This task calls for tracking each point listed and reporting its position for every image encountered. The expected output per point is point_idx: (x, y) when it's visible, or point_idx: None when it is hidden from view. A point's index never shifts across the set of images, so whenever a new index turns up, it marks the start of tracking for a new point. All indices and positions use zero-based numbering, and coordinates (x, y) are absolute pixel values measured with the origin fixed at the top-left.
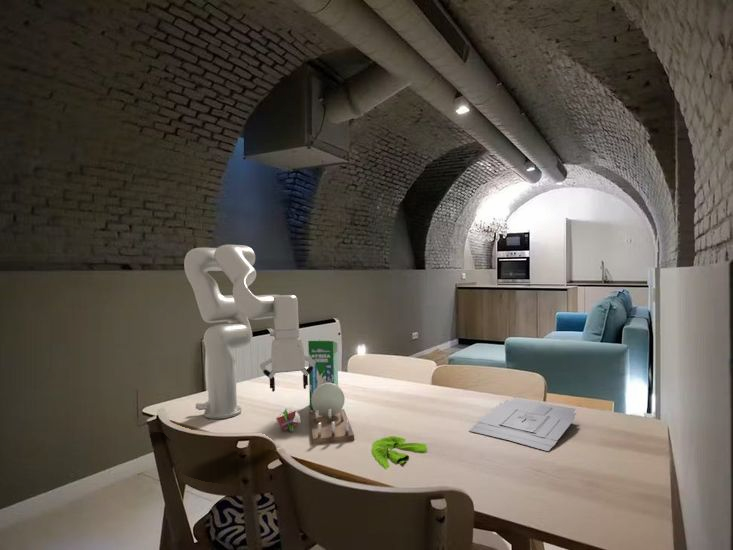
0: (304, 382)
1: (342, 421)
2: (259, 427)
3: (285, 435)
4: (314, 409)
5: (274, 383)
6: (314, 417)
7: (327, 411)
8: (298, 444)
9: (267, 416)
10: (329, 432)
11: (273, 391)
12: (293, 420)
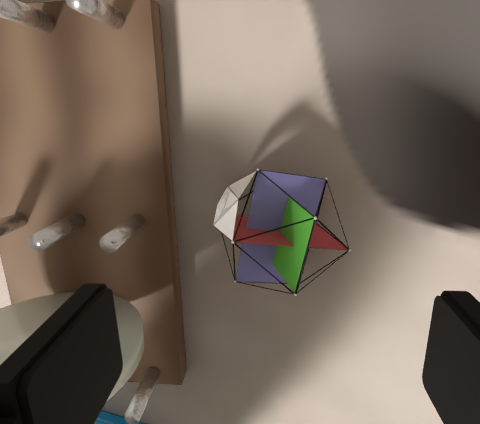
0: (62, 321)
1: (17, 212)
2: (420, 286)
3: (296, 152)
4: (137, 317)
5: (468, 393)
6: (154, 300)
7: None
8: (232, 13)
9: (375, 409)
10: (70, 73)
11: (447, 293)
12: (251, 177)
